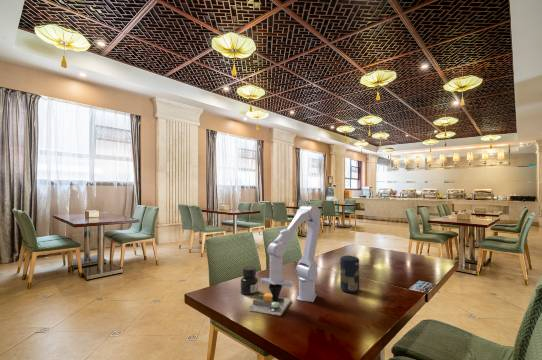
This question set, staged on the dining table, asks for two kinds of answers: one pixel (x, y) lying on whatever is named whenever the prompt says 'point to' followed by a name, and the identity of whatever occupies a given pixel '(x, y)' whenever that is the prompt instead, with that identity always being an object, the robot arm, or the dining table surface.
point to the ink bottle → (249, 281)
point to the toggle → (268, 297)
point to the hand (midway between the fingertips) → (275, 301)
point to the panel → (267, 308)
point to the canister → (349, 273)
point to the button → (275, 304)
